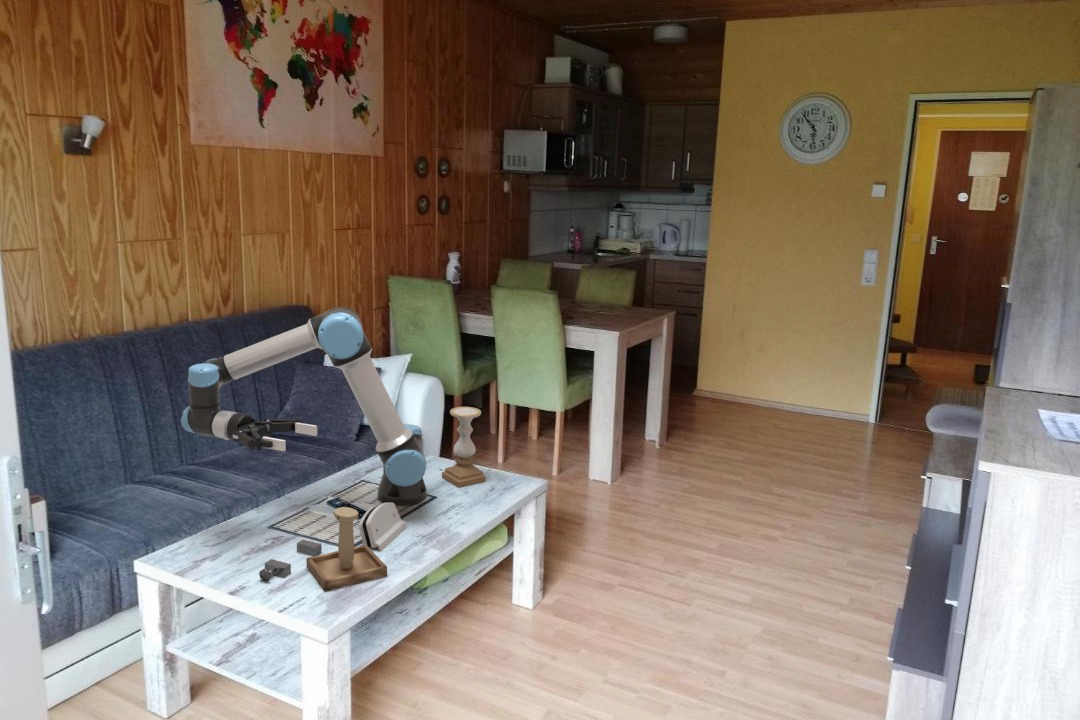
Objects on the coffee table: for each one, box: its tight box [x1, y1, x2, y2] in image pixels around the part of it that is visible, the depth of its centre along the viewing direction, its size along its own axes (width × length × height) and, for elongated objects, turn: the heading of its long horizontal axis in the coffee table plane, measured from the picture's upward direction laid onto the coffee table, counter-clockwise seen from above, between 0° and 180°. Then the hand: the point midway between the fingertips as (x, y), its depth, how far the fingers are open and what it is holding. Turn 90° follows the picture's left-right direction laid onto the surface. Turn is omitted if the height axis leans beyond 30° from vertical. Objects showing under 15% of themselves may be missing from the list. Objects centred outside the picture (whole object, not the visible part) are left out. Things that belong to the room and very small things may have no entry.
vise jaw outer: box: [258, 558, 292, 582], centre depth 197 cm, size 6×6×3 cm
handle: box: [333, 506, 359, 569], centre depth 199 cm, size 5×6×15 cm
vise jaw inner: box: [296, 539, 323, 557], centre depth 210 cm, size 2×6×2 cm, turn 69°
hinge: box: [358, 502, 408, 552], centre depth 221 cm, size 17×5×10 cm, turn 164°
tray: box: [305, 544, 388, 592], centre depth 201 cm, size 16×14×2 cm
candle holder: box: [441, 406, 487, 488], centre depth 263 cm, size 11×11×24 cm
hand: (301, 438), depth 208 cm, fingers open, 13 cm apart
